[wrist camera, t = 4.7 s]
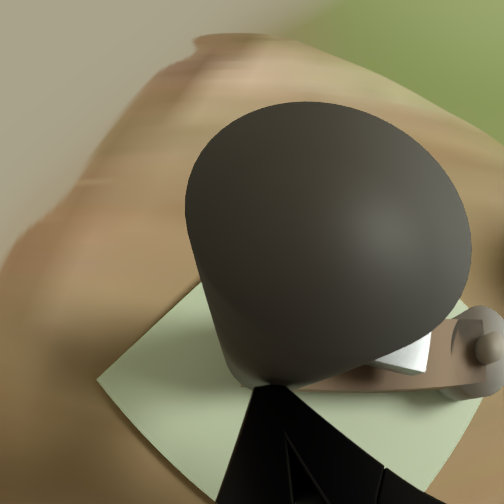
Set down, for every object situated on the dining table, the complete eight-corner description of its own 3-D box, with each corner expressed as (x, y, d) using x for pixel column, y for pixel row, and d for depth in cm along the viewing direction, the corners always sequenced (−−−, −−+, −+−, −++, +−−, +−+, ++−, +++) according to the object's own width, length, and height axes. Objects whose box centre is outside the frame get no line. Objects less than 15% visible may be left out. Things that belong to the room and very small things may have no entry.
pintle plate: (336, 575, 9) (339, 580, 8) (101, 380, 13) (96, 379, 13) (499, 347, 14) (505, 345, 14) (311, 186, 19) (313, 180, 18)
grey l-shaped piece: (486, 318, 14) (635, 214, 4) (490, 396, 12) (664, 334, 2) (231, 302, 14) (220, 78, 5) (219, 400, 12) (146, 377, 3)
